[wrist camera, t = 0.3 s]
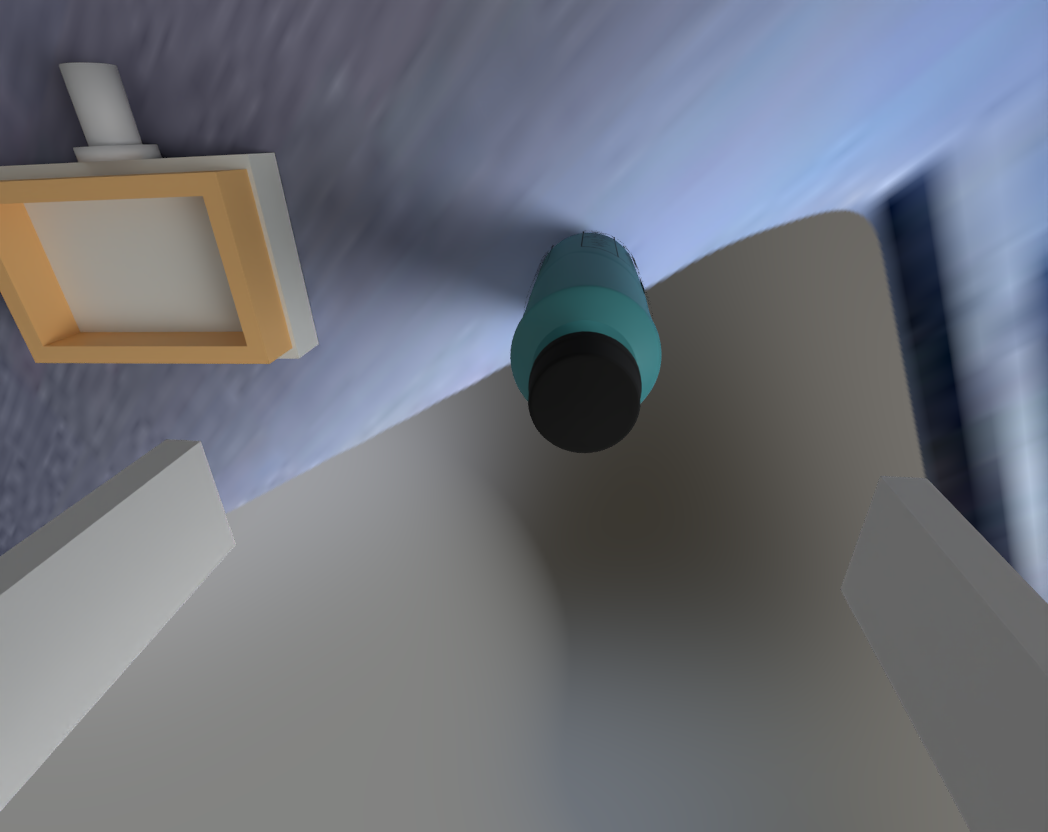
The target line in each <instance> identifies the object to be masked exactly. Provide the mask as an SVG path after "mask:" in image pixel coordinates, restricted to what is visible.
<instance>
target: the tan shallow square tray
mask: <svg viewBox="0 0 1048 832" xmlns="http://www.w3.org/2000/svg"><path fill="white" fill-rule="evenodd" d="M59 68H60V71H61V73H62V76H63V79H64V81H65V84H66V87H67V89H68V92H69V95H70V97H71V100H72V103H73V106H74V108H75V111H76V114H77V116H78V119H79V122H80V124H81V127H82V130H83V132H84V135H85V138H86V140H87V143H88V146H89V147H74V148H73V150H74V152H75V155H76V157H77V160H78V163H58V164H37V165H17V166H0V292H1V294H2V296H3V298H4V300H5V302H6V304H7V306H8V308H9V310H10V312H11V314H12V316H13V318H14V320H15V322H16V324H17V326H18V328H19V330H20V332H21V334H22V336H23V338H24V340H25V342H26V344H27V346H28V348H29V350H30V352H31V354H32V356H33V358H34V360H35V362H36V363H195V364H270V363H271V362H273V361H274V360H276V359H277V358H301V357H302V356H303V355H305V354H306V353H307V352H309V351H310V350H311V349H313V348H314V347H315V346H317V345H318V344H319V343H318V339H317V334H316V330H315V326H314V321H313V317H312V313H311V309H310V304H309V300H308V296H307V291H306V287H305V283H304V278H303V274H302V270H301V265H300V261H299V257H298V252H297V248H296V244H295V239H294V235H293V231H292V227H291V222H290V218H289V214H288V209H287V205H286V201H285V196H284V192H283V188H282V183H281V179H280V175H279V170H278V166H277V162H276V158H275V153H259V154H239V155H219V156H199V157H178V158H162V157H161V154H160V151H159V148H158V145H157V144H142V141H141V138H140V135H139V132H138V129H137V126H136V123H135V120H134V117H133V114H132V111H131V108H130V105H129V102H128V99H127V96H126V93H125V90H124V87H123V84H122V81H121V78H120V75H119V72H118V69H117V66H115V65H111V64H103V63H63V64H59Z"/></svg>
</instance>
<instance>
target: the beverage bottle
mask: <svg viewBox="0 0 1048 832" xmlns="http://www.w3.org/2000/svg"><path fill="white" fill-rule="evenodd" d="M598 232H599V231H597V232H593V233H584V231H583V233H581V234H576V235H573V236H570V237H568V238H566V239H564V240H562V241H561V242H560V243H558V244H557V245H556V246H555V247H554V248H553V246H551V247H552V248H553V249H551V251H550V252H549V253H548V252H547V254H548V255H547V256H546V257H545V259H544V262H542V260H541V262H542V263H543V264H542V266H540V265H539V268H540V267H541V269H540V271H538V272H539V274H538V277H537V279H536V282H535V284H534V287H533V290H532V292H531V295H530V298H529V302H528V305H527V307H526V310H525V313H524V315H523V318H522V319H521V321H520V322H519V324H518V327H517V329H516V331H515V334H514V337H513V340H512V345H511V357H510V359H511V368H512V372H513V376H514V379H515V382H516V384H517V386H518V388H519V390H520V392H521V393H522V394H523V396H524V397H525V399H526V400H527V401H528V406H529V412H530V416H531V418H532V421H533V423H534V425H535V427H536V428H537V430H538V431H539V432H540V434H541V435H542V436H543V437H544V438H545V439H547V440H548V441H549V442H551V443H552V444H554V445H555V446H557V447H559V448H561V449H564V450H567V451H571V452H577V453H592V452H598V451H601V450H605V449H607V448H609V447H612V446H613V445H615V444H617V443H618V442H620V441H621V440H622V439H623V438H624V437H625V436H626V435H627V434H628V433H629V432H630V431H631V429H632V428H633V426H634V424H635V423H636V420H637V418H638V415H639V411H640V404H641V402H642V401H643V400H644V399H645V398H646V397H647V395H648V394H649V392H650V391H651V389H652V387H653V386H654V384H655V382H656V380H657V377H658V373H659V369H660V365H661V344H660V339H659V335H658V332H657V329H656V327H655V324H654V323H653V321H652V319H651V316H650V313H649V310H648V305H647V301H646V297H645V295H644V294H645V292H644V287H643V285H644V284H643V285H642V282H641V279H640V281H639V278H640V277H639V278H638V275H637V272H636V269H635V267H634V264H633V263H635V259H634V258H633V255H632V257H630V256H629V253H630V251H629V253H628V252H627V251H626V250H625V247H624V246H622V245H621V244H619V243H618V242H617V241H615V237H613V238H614V239H613V238H610V237H608V236H605V235H602V234H603V233H600V234H598ZM605 234H606V233H605ZM620 242H621V241H620ZM551 247H550V248H551ZM543 257H544V256H543ZM631 258H633V261H634V262H633V261H632V259H631ZM541 262H540V264H541ZM635 265H636V263H635ZM636 267H637V265H636ZM637 269H638V268H637ZM537 270H538V269H537ZM638 273H639V272H638ZM535 276H536V275H535ZM533 281H534V280H533ZM532 283H533V282H532ZM531 286H532V285H531ZM529 291H530V290H529ZM527 296H528V295H527ZM525 303H526V302H525ZM524 308H525V307H524Z"/></svg>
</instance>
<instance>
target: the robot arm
mask: <svg viewBox="0 0 1048 832" xmlns="http://www.w3.org/2000/svg"><path fill="white" fill-rule="evenodd" d="M235 545H236V544H235V541H234V538H233V535H232V532H231V529H230V526H229V523H228V520H227V517H226V514H225V511H224V508H223V505H222V502H221V500H220V497H219V494H218V491H217V488H216V485H215V482H214V479H213V476H212V473H211V470H210V467H209V464H208V461H207V458H206V456H205V453H204V450H203V447H202V444H201V441H188V440H169V439H166V440H165V441H164V442H162V443H161V444H159V445H158V446H156V447H155V448H154V449H152V450H151V451H149V452H148V453H147V454H145V455H144V456H142V457H141V458H139V459H138V460H137V461H135V462H134V463H132V464H131V465H129V466H128V467H127V468H125V469H124V470H122V471H121V472H120V473H118V474H117V475H115V476H114V477H112V478H111V479H110V480H108V481H107V482H105V483H104V484H103V485H101V486H100V487H98V488H97V489H95V490H94V491H93V492H91V493H90V494H88V495H87V496H85V497H84V498H83V499H81V500H80V501H78V502H77V503H76V504H74V505H73V506H71V507H70V508H68V509H67V510H66V511H64V512H63V513H61V514H60V515H59V516H57V517H56V518H54V519H53V520H51V521H50V522H49V523H47V524H46V525H44V526H43V527H41V528H40V529H39V530H37V531H36V532H34V533H33V534H32V535H30V536H29V537H27V538H26V539H24V540H23V541H22V542H20V543H19V544H17V545H16V546H15V547H13V548H12V549H10V550H9V551H7V552H6V553H5V554H3V555H2V556H0V811H1V810H2V809H3V808H4V807H5V806H6V804H7V803H8V802H9V801H10V800H11V799H12V797H14V795H15V794H16V793H17V792H18V791H19V790H20V788H21V787H22V786H23V785H24V784H25V783H26V782H27V781H28V780H29V778H30V777H31V776H32V775H33V774H34V773H35V771H36V770H37V769H38V768H39V767H40V766H41V765H42V764H43V762H44V761H45V760H46V759H47V758H48V757H49V756H50V755H51V754H52V752H53V751H54V750H55V749H56V748H57V747H58V745H59V744H60V743H61V742H62V741H63V740H64V739H65V738H66V736H67V735H68V734H69V733H70V732H71V731H72V730H73V729H74V727H75V726H76V725H77V724H78V723H79V722H80V721H81V720H82V718H83V717H84V716H85V715H86V714H87V713H88V712H89V710H90V709H91V708H92V707H93V706H94V705H95V704H96V703H97V701H98V700H99V699H100V698H101V697H102V696H103V695H104V693H105V692H106V691H107V690H108V689H109V688H110V687H111V686H112V684H113V683H114V682H115V681H116V680H117V679H118V678H119V677H120V675H121V674H122V673H123V672H124V671H125V670H126V669H127V667H128V666H129V665H130V664H131V663H132V662H133V661H134V660H135V658H136V657H137V656H138V655H139V654H140V653H141V651H142V650H143V649H144V648H145V647H146V646H147V645H148V644H149V643H150V641H151V640H152V639H153V638H154V637H155V636H156V635H157V633H158V632H159V631H160V630H161V629H162V628H163V627H164V626H165V624H166V623H167V622H168V621H169V620H170V619H171V617H172V616H173V615H174V614H175V613H176V612H177V611H178V610H179V609H180V607H181V606H182V605H183V604H184V603H185V602H186V601H187V599H188V598H189V597H190V596H191V595H192V594H193V593H194V592H195V591H196V589H197V588H198V587H199V586H200V585H201V584H202V583H203V581H204V580H205V579H206V578H207V577H208V576H209V575H210V573H211V572H212V571H213V570H214V569H215V568H216V567H217V566H218V564H219V563H220V562H221V561H222V560H223V559H224V558H225V557H226V555H227V554H228V553H229V552H230V551H231V550H232V548H233V547H234V546H235ZM841 592H842V594H843V596H844V597H845V599H846V601H847V603H848V605H849V607H850V609H851V611H852V612H853V614H854V616H855V618H856V620H857V622H858V624H859V625H860V627H861V629H862V631H863V633H864V635H865V637H866V638H867V640H868V642H869V644H870V646H871V648H872V650H873V651H874V653H875V655H876V657H877V659H878V661H879V663H880V664H881V666H882V668H883V670H884V672H885V674H886V676H887V678H888V679H889V681H890V683H891V685H892V687H893V689H894V690H895V692H896V694H897V696H898V698H899V700H900V702H901V704H902V706H903V707H904V709H905V711H906V713H907V715H908V717H909V719H910V720H911V722H912V724H913V726H914V728H915V730H916V732H917V733H918V735H919V737H920V739H921V741H922V743H923V745H924V746H925V748H926V750H927V752H928V754H929V756H930V757H931V760H932V761H933V763H934V765H935V767H936V769H937V771H938V773H939V774H940V776H941V778H942V780H943V782H944V783H945V786H946V787H947V789H948V791H949V793H950V795H951V797H952V799H953V801H954V802H955V804H956V806H957V808H958V810H959V812H960V813H961V815H962V817H963V819H964V821H965V823H966V824H967V827H968V828H969V830H970V832H1048V604H1047V603H1046V602H1045V601H1044V600H1043V599H1042V598H1041V597H1040V596H1039V595H1038V594H1037V592H1036V591H1035V590H1034V589H1033V588H1032V587H1031V586H1030V585H1029V584H1028V583H1027V582H1026V581H1025V580H1024V579H1023V578H1022V577H1021V576H1020V575H1019V574H1018V573H1017V572H1016V571H1015V570H1014V569H1013V568H1012V567H1011V565H1010V564H1009V563H1008V562H1007V561H1006V560H1005V559H1004V558H1003V557H1002V556H1001V555H1000V554H999V553H998V552H997V551H996V550H995V549H994V548H993V547H992V546H991V545H990V544H989V543H988V542H987V541H986V540H985V538H984V537H983V536H982V535H981V534H980V533H979V532H978V531H977V530H976V529H975V528H974V527H973V526H972V525H971V524H970V523H969V522H968V521H967V520H966V519H965V518H964V517H963V516H962V515H961V514H960V513H959V512H958V510H957V509H956V508H955V507H954V506H953V505H952V504H951V503H950V502H949V501H948V500H947V499H946V498H945V497H944V496H943V495H942V494H941V493H940V492H939V491H938V490H937V489H936V488H935V487H934V486H933V485H932V483H931V482H930V481H929V480H928V479H927V478H910V477H890V476H889V477H888V476H880V478H879V481H878V484H877V487H876V490H875V493H874V495H873V498H872V501H871V504H870V507H869V510H868V512H867V515H866V518H865V521H864V524H863V527H862V530H861V532H860V535H859V538H858V541H857V544H856V547H855V550H854V553H853V555H852V558H851V561H850V564H849V567H848V570H847V572H846V575H845V578H844V581H843V584H842V587H841Z"/></svg>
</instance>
